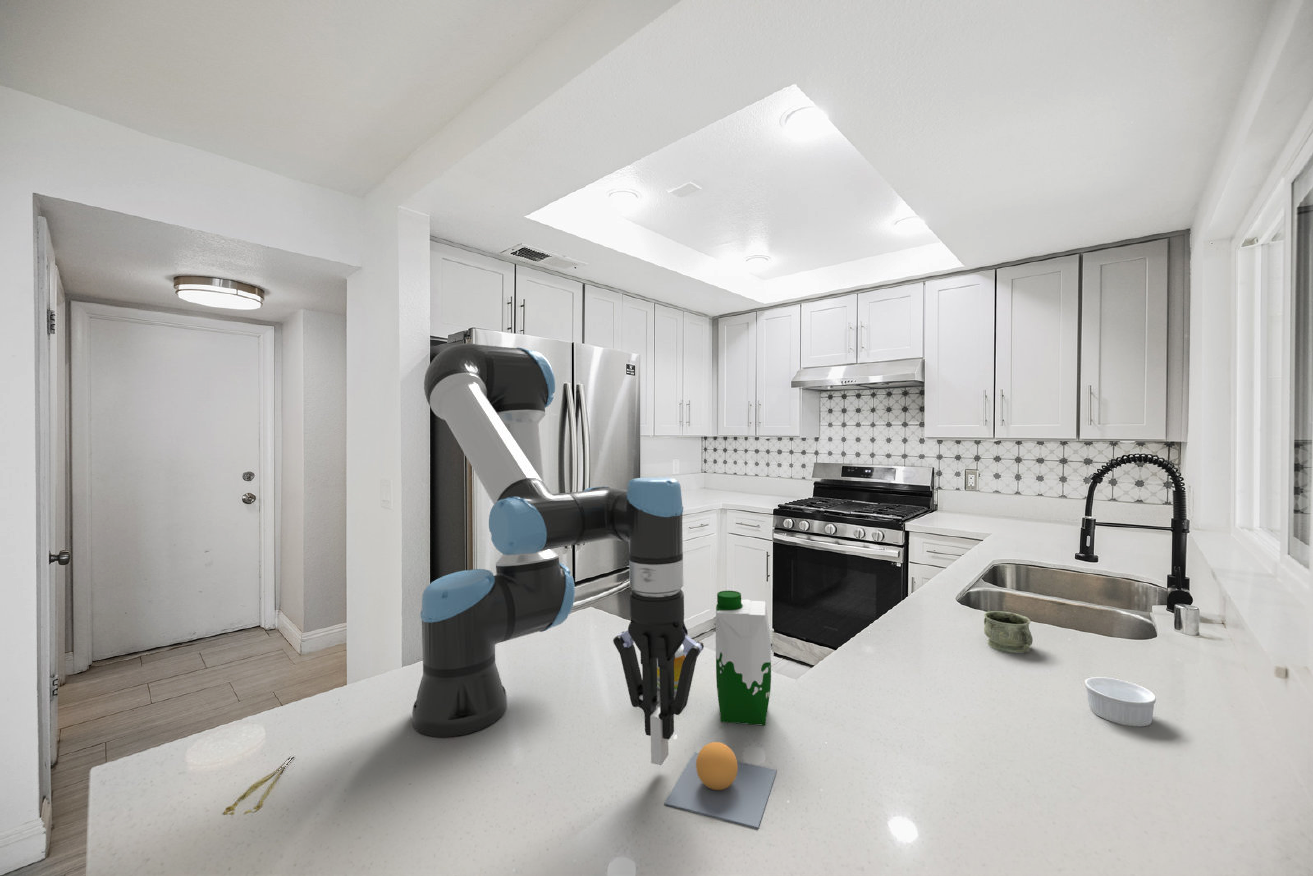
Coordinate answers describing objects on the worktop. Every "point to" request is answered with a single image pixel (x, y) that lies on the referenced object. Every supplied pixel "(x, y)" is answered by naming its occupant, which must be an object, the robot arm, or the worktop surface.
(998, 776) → the worktop surface
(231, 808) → the tongs
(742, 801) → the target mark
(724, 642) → the milk carton
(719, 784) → the ball
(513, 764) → the worktop surface
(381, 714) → the worktop surface
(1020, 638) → the vessel
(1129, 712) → the ramekin
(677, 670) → the supplement bottle
